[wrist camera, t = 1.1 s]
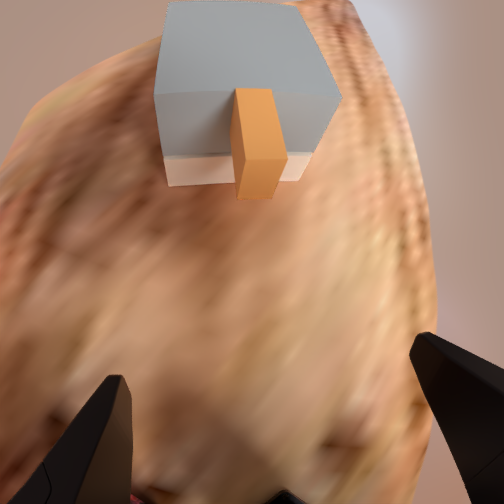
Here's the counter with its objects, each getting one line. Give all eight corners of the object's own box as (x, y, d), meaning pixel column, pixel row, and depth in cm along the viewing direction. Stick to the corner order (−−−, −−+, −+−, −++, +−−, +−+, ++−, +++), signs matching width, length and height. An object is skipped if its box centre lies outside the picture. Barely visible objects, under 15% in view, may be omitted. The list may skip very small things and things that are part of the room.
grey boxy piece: (328, 212, 20) (369, 162, 15) (162, 221, 19) (146, 165, 13) (282, 53, 26) (296, 4, 20) (170, 52, 24) (168, 0, 18)
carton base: (298, 181, 26) (312, 154, 22) (168, 186, 24) (163, 158, 20) (274, 82, 30) (281, 55, 26) (172, 83, 28) (170, 55, 24)
